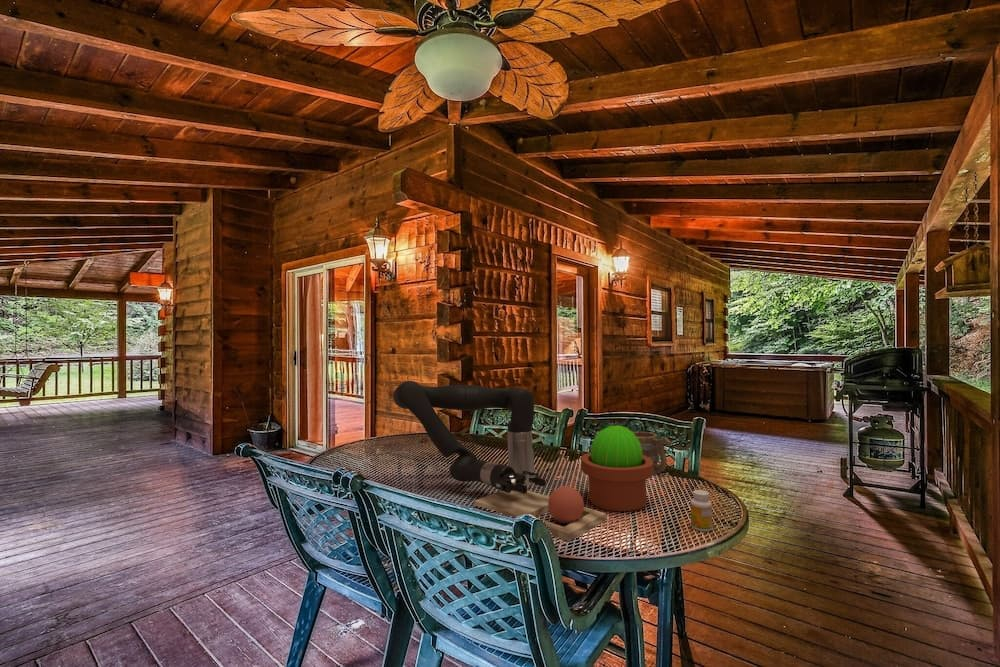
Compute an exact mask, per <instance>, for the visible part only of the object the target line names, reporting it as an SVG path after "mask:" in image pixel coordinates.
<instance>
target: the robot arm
mask: <svg viewBox="0 0 1000 667" xmlns="http://www.w3.org/2000/svg"><path fill="white" fill-rule="evenodd" d="M392 398H393V401H394V403H395V404H396V406H398V407H399V408H401V409H404V410H409V411H410V412H411V413H412V414H413V415H414V416H415V417H416V418H417V420H418V421H419V422H420V424H421V425H422V427H423V428H424V430H425V432H426V434H427V436H428V438H429V439H430V441H431V442H432V444H433V445H434V446H435V448H436V449H437V450H438V452H440V454H441V455H442V456H443V457H444V458H450V457H452V456H454V454H457V455H458V457H457V458H456V459H455V460H454V461H453V462H452V463H451V465H450V466H449V474H450V476H451V477H452V478H453V479H454V480H456V481H458V482H462V483H465V482H467V483H468V482H469V483H470V482H479V483H482V484H485V485H487V486H489V487H493V488H495V489H496V490H499V491H504V492H507V493H511V491H513V492H516V491H517V492H520V493H524V494H526V493H527V490H528V487H527V486H529V485H536V486H540V487H545V486H546V479H545V478H542V477H539V475H540V474H539V473H536V472H535V450H534V448H533V424H534V419H535V401H534V399H535V398H534V396H533V393H532V392H531V391H530V390H528V389H525V388H523V387H522V388H521V387H518V386H517V387H515V386H514V387H501V388H496V387H494V388H492V387H486V386H480V385H470V384H452V385H451V384H450V385H449V384H447V385H441V386H425V385H421V384H419V383H418V382H417V381H414V380H408V381H405V382H403V383H401V384H399V385H398V386H397V387H396V388H395V390H394V391H393V394H392ZM490 408H491V409H492V408H494V409H502V410H509V411H510V412H511V416H510V420H509V422H507V464H506V465H505V464H502V463H498V462H492V461H487V460H483V459H478V457H477V455H476V454H475V453H474V452H472V451H471V450H470V449H469V448H468V447H467V448H466V447H465V446H464V445H463V444H461V443H460V442H459V441H458V440H457V438H456V437H455V435H453V433H452V432H451V430H450V429H449V428H448V426H446V424H445V423H444V421H443V420H442V419H441V418H440V416H439V415H438V414H437V412H436V410H435V409H444V410H455V411H467V412H468V411H472V412H473V411H480V410H485V409H490ZM525 481H526V482H525Z"/></svg>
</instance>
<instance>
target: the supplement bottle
mask: <svg viewBox="0 0 1000 667" xmlns="http://www.w3.org/2000/svg"><path fill="white" fill-rule="evenodd" d="M692 492H693V493H692V496H693V498H691V500H690V527H691V528H693V529H694V530H696V531H700V532H709V531H712V530H713V503H712V501H711V500H710V493H709V491H706V490H703V489H694V490H693V491H692Z"/></svg>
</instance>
